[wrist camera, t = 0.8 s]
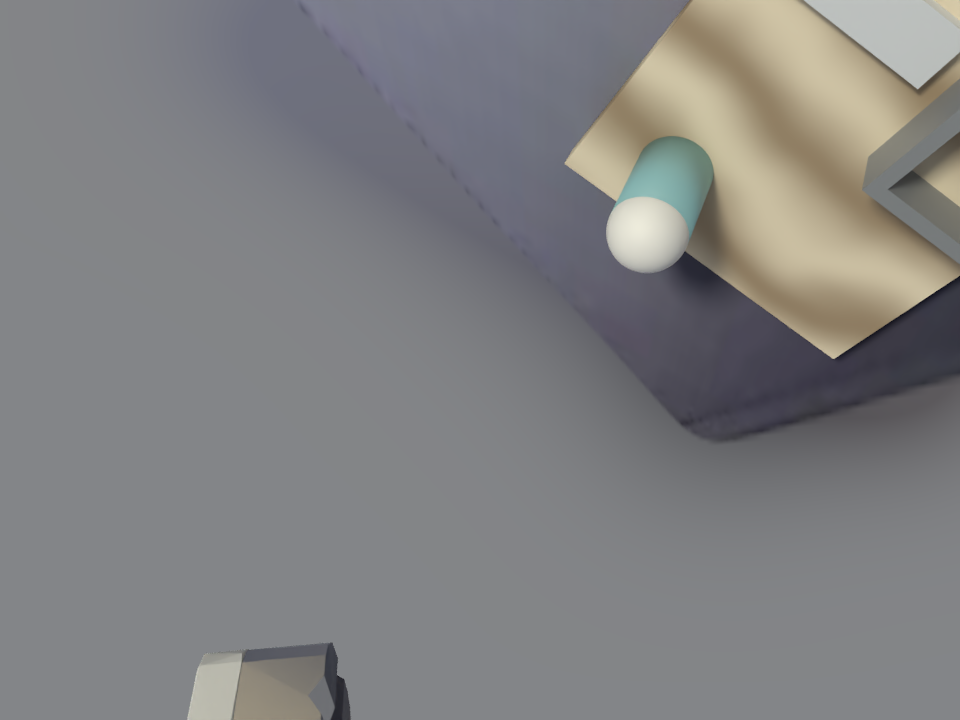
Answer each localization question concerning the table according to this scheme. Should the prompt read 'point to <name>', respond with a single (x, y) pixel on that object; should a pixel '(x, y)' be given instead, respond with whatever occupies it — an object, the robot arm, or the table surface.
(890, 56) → the plank
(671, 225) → the capsule
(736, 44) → the board
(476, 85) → the table surface
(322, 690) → the robot arm
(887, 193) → the frame
